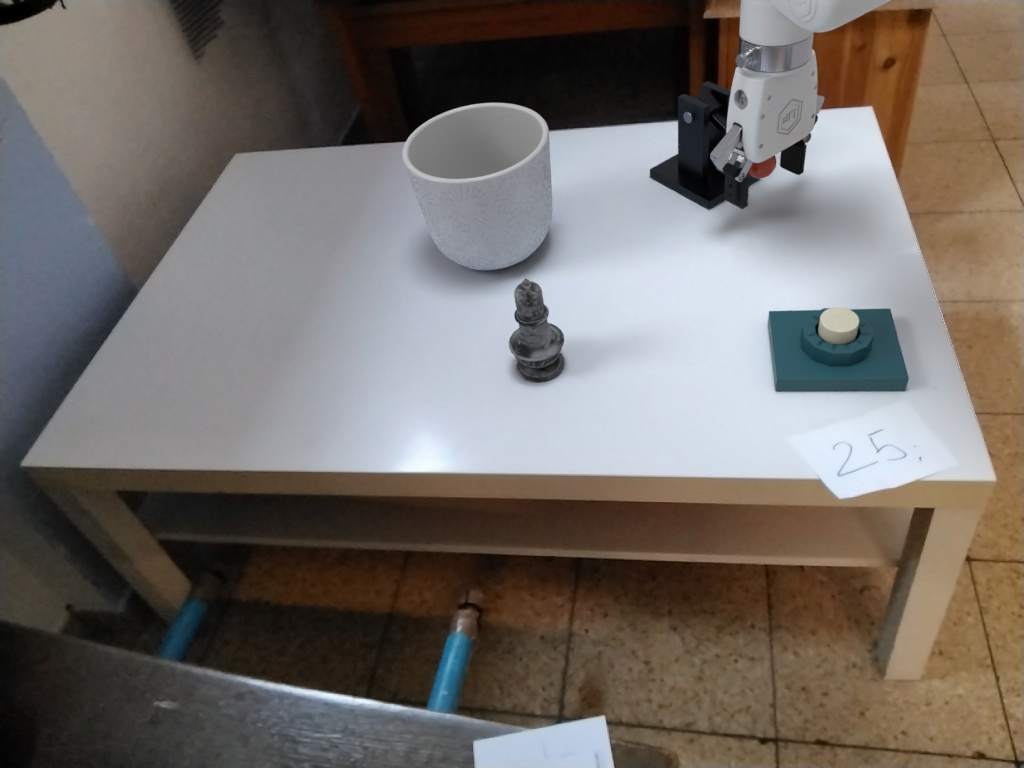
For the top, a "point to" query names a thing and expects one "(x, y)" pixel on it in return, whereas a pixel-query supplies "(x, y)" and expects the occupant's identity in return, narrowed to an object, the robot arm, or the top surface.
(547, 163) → the planter
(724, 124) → the lever
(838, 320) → the button
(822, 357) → the block
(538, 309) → the stone chess piece
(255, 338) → the top surface
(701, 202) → the lever base
